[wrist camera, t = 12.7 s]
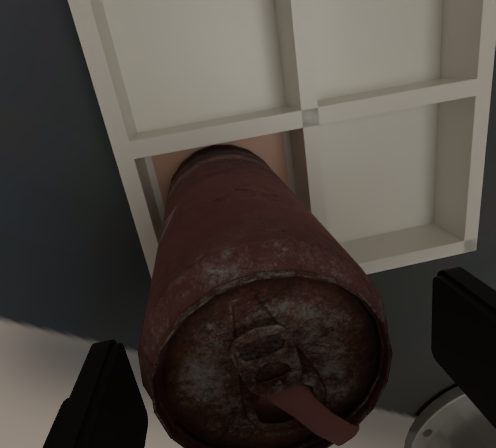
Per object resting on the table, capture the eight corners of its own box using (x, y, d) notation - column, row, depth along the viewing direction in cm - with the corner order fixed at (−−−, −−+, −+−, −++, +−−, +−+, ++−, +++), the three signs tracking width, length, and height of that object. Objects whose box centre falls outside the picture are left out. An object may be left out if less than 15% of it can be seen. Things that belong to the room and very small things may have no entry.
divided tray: (438, 228, 25) (476, 250, 22) (167, 286, 23) (163, 319, 20) (455, -119, 18) (514, -163, 14) (67, -66, 16) (37, -102, 13)
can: (239, 264, 23) (305, 510, 10) (147, 211, 21) (77, 433, 8) (300, 185, 21) (468, 348, 8) (209, 119, 19) (247, 202, 6)
